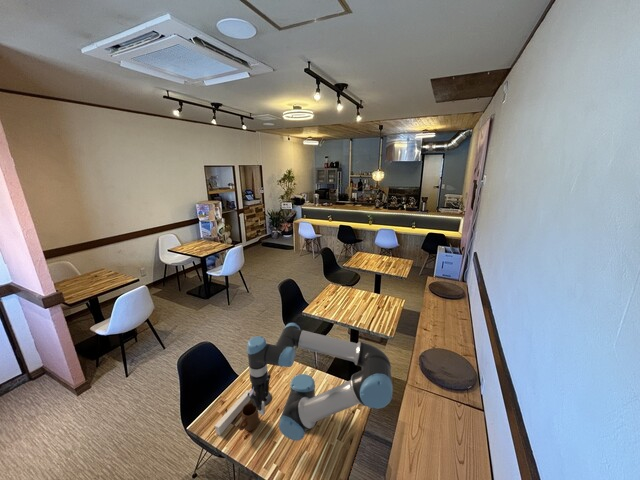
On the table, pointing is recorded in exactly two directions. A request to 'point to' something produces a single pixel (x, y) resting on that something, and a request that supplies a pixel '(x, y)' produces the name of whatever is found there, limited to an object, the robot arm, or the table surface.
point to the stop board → (232, 413)
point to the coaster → (268, 398)
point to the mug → (249, 417)
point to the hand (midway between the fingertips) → (261, 412)
